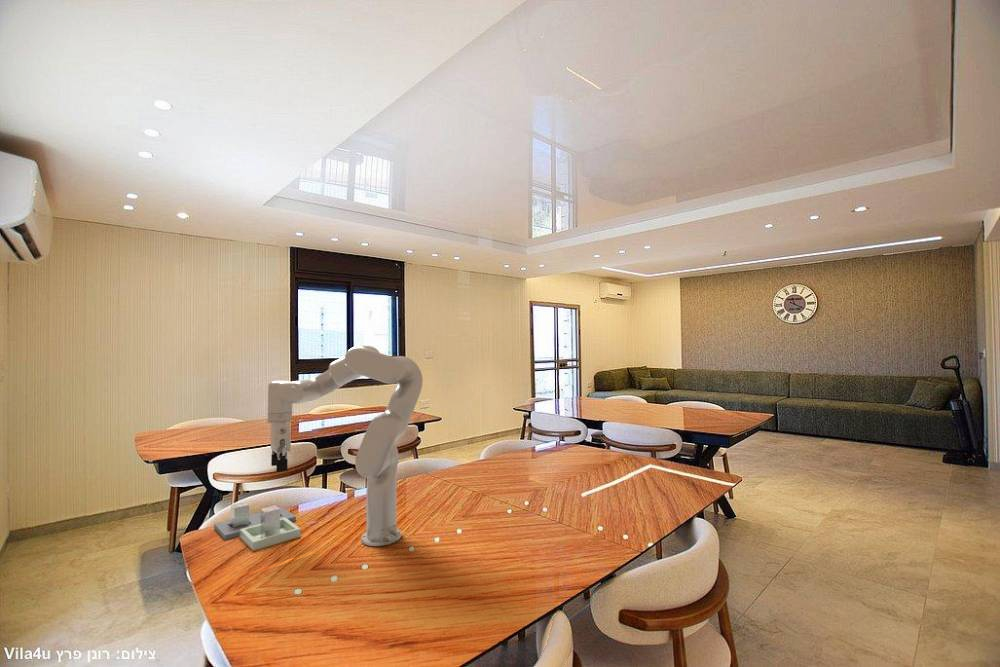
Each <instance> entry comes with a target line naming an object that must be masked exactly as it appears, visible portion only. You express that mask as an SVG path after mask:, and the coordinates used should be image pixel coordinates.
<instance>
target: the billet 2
mask: <svg viewBox="0 0 1000 667" xmlns="http://www.w3.org/2000/svg"><path fill="white" fill-rule="evenodd" d="M260 512H261V538H265V537H268V536H272V535H275V534H279V533H280V507H278V505H271V506H267V507H263V508H260Z"/></svg>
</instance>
